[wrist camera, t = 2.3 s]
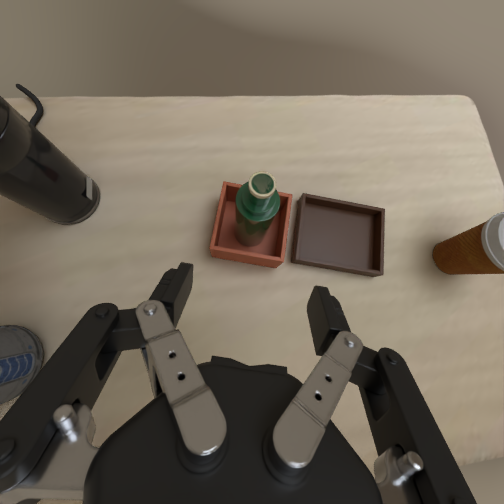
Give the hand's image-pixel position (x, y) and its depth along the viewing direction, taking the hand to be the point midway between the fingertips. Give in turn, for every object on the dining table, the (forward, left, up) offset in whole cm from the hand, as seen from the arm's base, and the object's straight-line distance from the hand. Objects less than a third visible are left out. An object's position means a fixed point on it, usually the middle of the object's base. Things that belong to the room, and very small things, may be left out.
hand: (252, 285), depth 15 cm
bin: (-7, +10, -24) cm, 27 cm away
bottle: (-7, +10, -24) cm, 27 cm away
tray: (+5, +20, -24) cm, 32 cm away
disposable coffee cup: (+24, +32, -24) cm, 47 cm away
